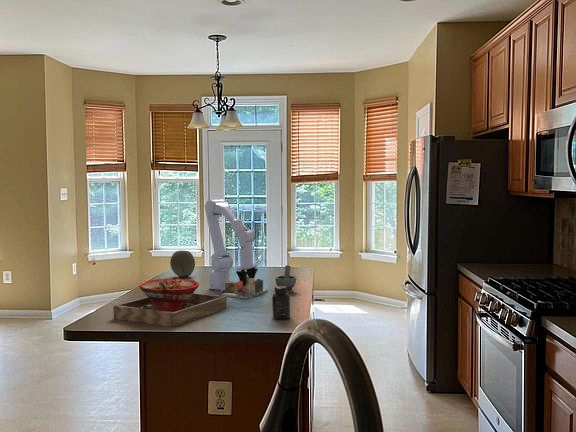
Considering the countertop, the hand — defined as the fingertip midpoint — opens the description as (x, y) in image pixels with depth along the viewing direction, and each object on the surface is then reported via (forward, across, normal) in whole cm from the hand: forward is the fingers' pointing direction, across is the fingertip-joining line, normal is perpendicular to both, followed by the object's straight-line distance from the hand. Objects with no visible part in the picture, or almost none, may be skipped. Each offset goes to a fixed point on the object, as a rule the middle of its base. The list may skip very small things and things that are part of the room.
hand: (247, 284), depth 255 cm
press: (+4, 0, -2) cm, 4 cm away
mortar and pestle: (+4, +11, -15) cm, 19 cm away
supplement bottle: (+4, -36, -38) cm, 53 cm away
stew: (+4, -50, +6) cm, 50 cm away
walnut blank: (+4, -2, +8) cm, 9 cm away
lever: (+3, -10, -2) cm, 11 cm away
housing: (+3, 0, 0) cm, 3 cm away
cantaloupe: (+4, +23, +57) cm, 62 cm away
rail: (+4, -10, 0) cm, 11 cm away
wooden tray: (+4, -48, +5) cm, 48 cm away
